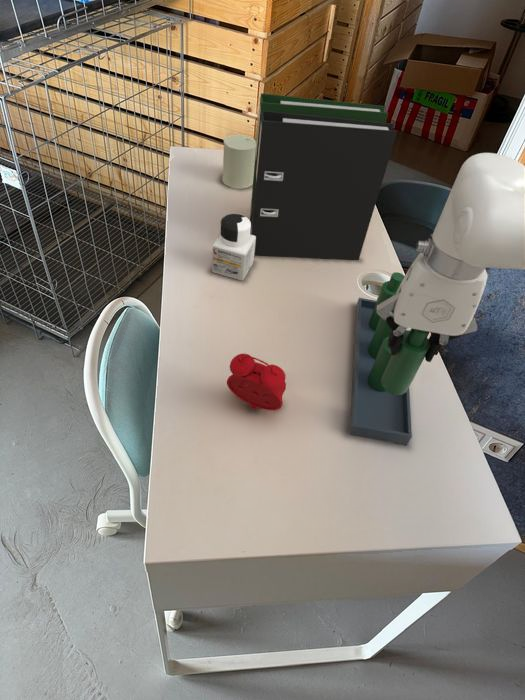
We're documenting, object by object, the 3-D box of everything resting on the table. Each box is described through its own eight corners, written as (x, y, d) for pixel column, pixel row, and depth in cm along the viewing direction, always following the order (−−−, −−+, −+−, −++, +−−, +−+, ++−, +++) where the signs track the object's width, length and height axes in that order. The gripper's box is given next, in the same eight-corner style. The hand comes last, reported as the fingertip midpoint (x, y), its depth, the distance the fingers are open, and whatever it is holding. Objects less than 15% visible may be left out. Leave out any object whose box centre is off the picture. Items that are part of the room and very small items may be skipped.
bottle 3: (391, 394, 91) (414, 345, 81) (367, 389, 91) (387, 340, 81) (390, 375, 94) (413, 326, 84) (367, 371, 94) (387, 322, 84)
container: (211, 272, 111) (212, 224, 102) (223, 254, 116) (225, 206, 107) (242, 281, 110) (247, 233, 100) (253, 262, 115) (258, 215, 106)
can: (259, 184, 140) (263, 143, 131) (233, 191, 136) (236, 150, 127) (241, 170, 145) (244, 130, 136) (215, 177, 141) (217, 136, 132)
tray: (406, 445, 84) (412, 437, 82) (349, 434, 85) (353, 425, 83) (400, 315, 107) (404, 305, 105) (355, 306, 108) (358, 297, 106)
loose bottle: (408, 397, 79) (438, 341, 69) (380, 392, 79) (406, 335, 69) (407, 376, 82) (436, 319, 72) (380, 371, 82) (405, 313, 72)
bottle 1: (390, 335, 102) (410, 285, 92) (368, 331, 102) (386, 281, 92) (389, 320, 105) (409, 271, 95) (368, 316, 105) (386, 267, 95)
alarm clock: (287, 404, 88) (299, 349, 77) (274, 430, 84) (285, 376, 73) (236, 383, 90) (241, 327, 79) (221, 407, 86) (224, 352, 75)
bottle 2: (390, 362, 96) (412, 313, 86) (367, 358, 96) (387, 309, 87) (390, 346, 99) (411, 297, 89) (368, 342, 100) (387, 292, 90)
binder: (350, 229, 129) (384, 104, 105) (359, 264, 119) (398, 134, 95) (249, 222, 126) (260, 93, 103) (249, 257, 116) (262, 122, 93)
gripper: (390, 261, 59) (355, 359, 72) (529, 286, 58) (467, 380, 71) (389, 228, 64) (356, 325, 77) (517, 250, 63) (461, 344, 77)
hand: (410, 351), depth 74 cm, fingers closed on loose bottle, 4 cm apart
